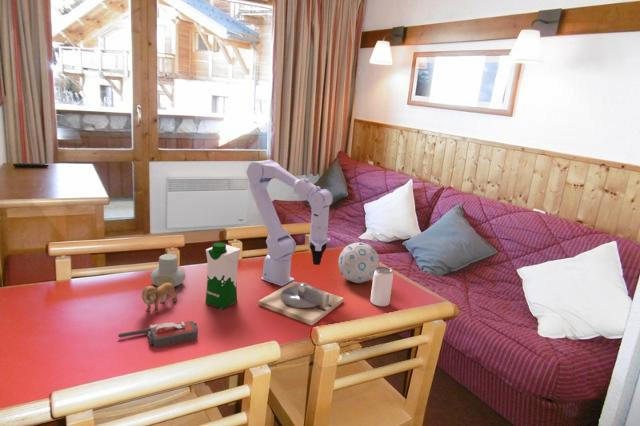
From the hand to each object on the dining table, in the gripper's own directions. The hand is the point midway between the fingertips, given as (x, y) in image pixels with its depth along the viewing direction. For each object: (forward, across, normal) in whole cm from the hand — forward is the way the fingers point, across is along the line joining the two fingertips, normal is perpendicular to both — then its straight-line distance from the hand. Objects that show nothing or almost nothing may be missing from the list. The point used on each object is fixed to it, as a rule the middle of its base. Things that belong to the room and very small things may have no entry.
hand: (316, 264), depth 152 cm
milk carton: (+10, -13, +30) cm, 34 cm away
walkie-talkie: (+11, -35, +41) cm, 55 cm away
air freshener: (+10, -3, +49) cm, 50 cm away
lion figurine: (+10, -19, +47) cm, 51 cm away
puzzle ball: (+11, +13, -16) cm, 23 cm away
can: (+11, -4, -22) cm, 25 cm away
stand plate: (+10, -9, +4) cm, 15 cm away
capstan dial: (+9, -10, +3) cm, 14 cm away
